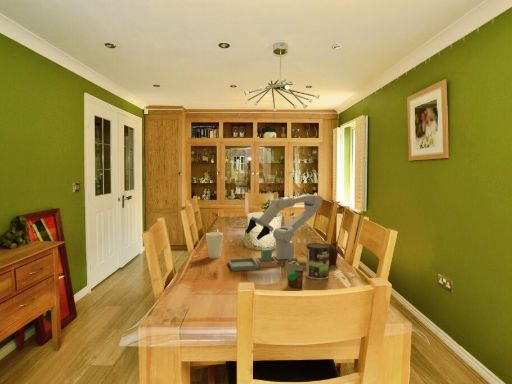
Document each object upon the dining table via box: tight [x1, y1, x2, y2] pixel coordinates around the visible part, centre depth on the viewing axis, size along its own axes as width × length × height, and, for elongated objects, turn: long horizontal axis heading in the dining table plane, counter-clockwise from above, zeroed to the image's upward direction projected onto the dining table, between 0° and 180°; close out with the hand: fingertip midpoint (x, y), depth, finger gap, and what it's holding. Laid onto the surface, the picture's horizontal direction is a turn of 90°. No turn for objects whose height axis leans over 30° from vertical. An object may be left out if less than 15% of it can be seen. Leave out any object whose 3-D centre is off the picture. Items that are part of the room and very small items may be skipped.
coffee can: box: [305, 242, 330, 281], centre depth 152 cm, size 10×10×14 cm
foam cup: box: [205, 231, 224, 259], centre depth 185 cm, size 10×9×13 cm
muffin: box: [325, 243, 339, 267], centre depth 172 cm, size 12×11×10 cm
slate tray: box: [227, 257, 260, 272], centre depth 168 cm, size 13×14×2 cm
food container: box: [284, 257, 304, 290], centre depth 140 cm, size 12×6×10 cm, turn 5°
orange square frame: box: [255, 256, 279, 269], centre depth 171 cm, size 9×9×2 cm
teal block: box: [260, 247, 273, 262], centre depth 170 cm, size 4×4×8 cm
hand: (251, 235), depth 172 cm, fingers open, 7 cm apart
